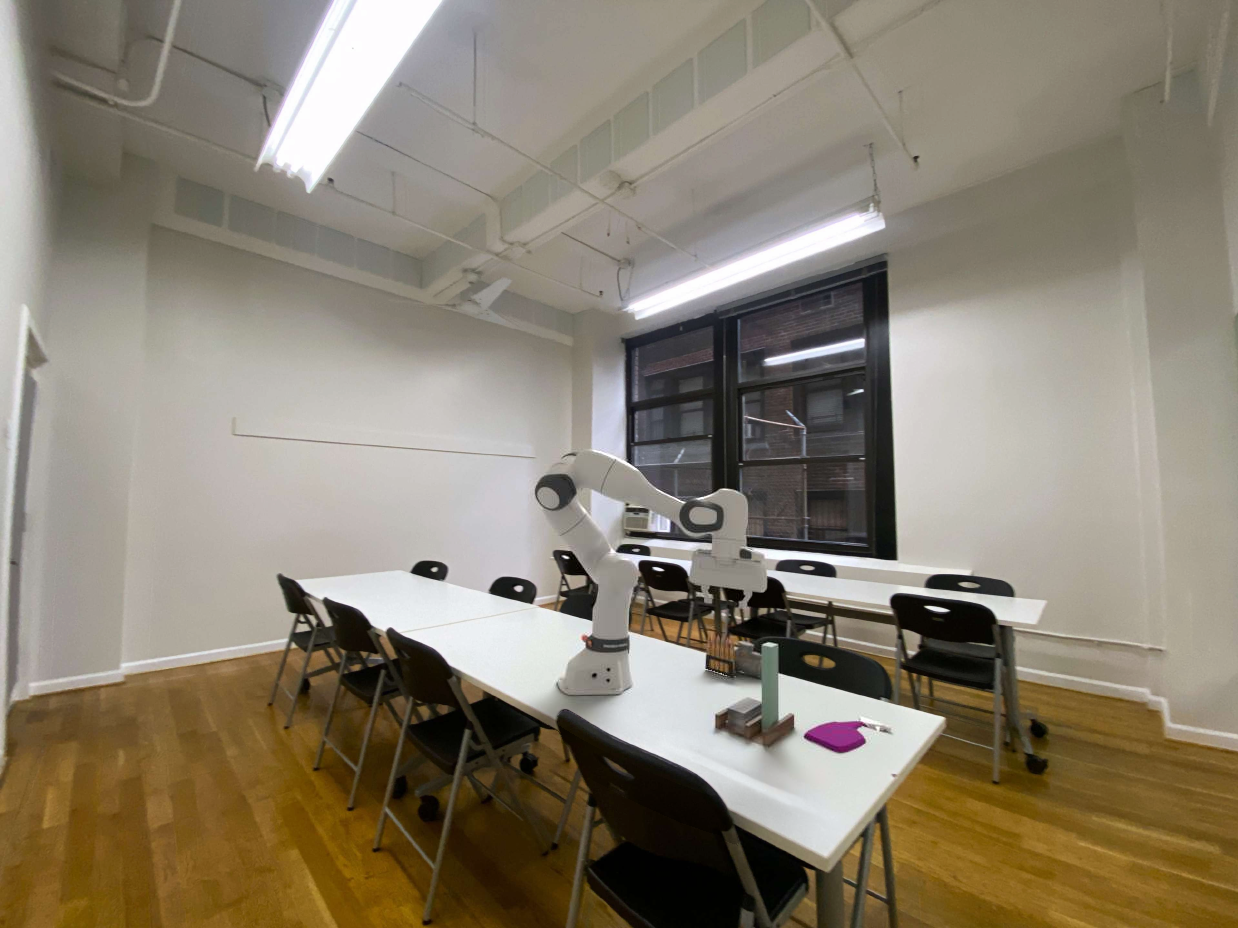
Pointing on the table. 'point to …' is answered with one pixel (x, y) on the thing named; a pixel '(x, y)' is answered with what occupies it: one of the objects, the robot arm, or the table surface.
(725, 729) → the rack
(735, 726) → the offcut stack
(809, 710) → the table surface
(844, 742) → the spray bottle
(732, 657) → the ammunition clip
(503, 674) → the table surface
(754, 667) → the pipe fitting
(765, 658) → the tall board
